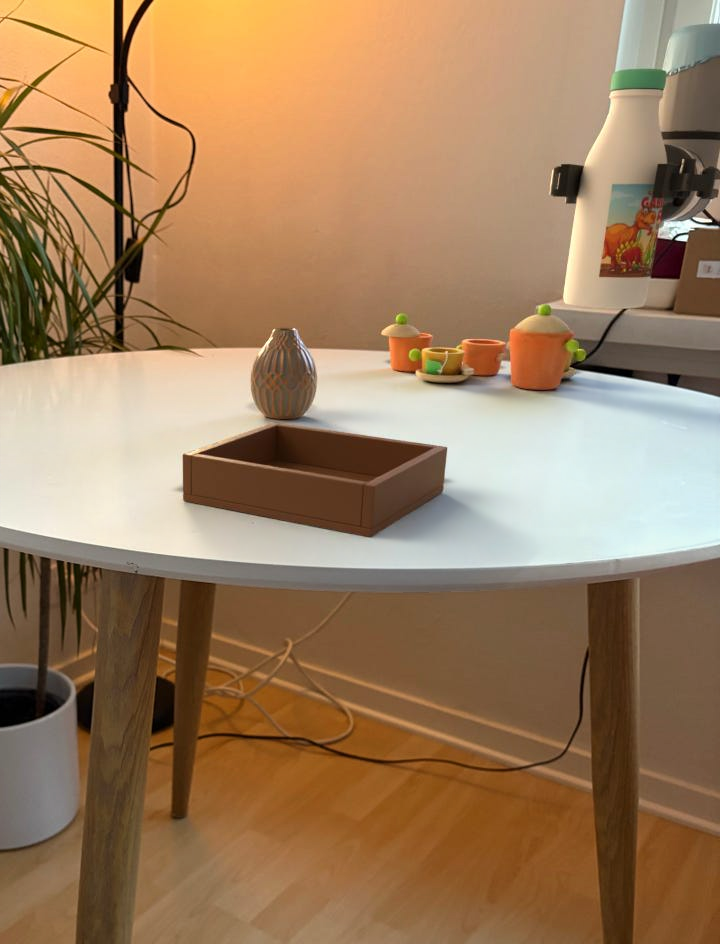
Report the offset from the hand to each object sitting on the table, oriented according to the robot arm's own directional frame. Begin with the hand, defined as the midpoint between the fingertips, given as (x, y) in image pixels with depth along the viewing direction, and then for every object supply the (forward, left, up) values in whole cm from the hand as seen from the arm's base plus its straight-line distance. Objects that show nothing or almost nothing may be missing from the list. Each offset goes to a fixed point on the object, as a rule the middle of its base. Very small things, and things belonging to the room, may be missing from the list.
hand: (610, 180), depth 88 cm
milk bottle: (0, -5, -11) cm, 12 cm away
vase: (+28, +9, -23) cm, 37 cm away
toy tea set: (+19, -26, -23) cm, 40 cm away
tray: (+11, +34, -23) cm, 42 cm away
